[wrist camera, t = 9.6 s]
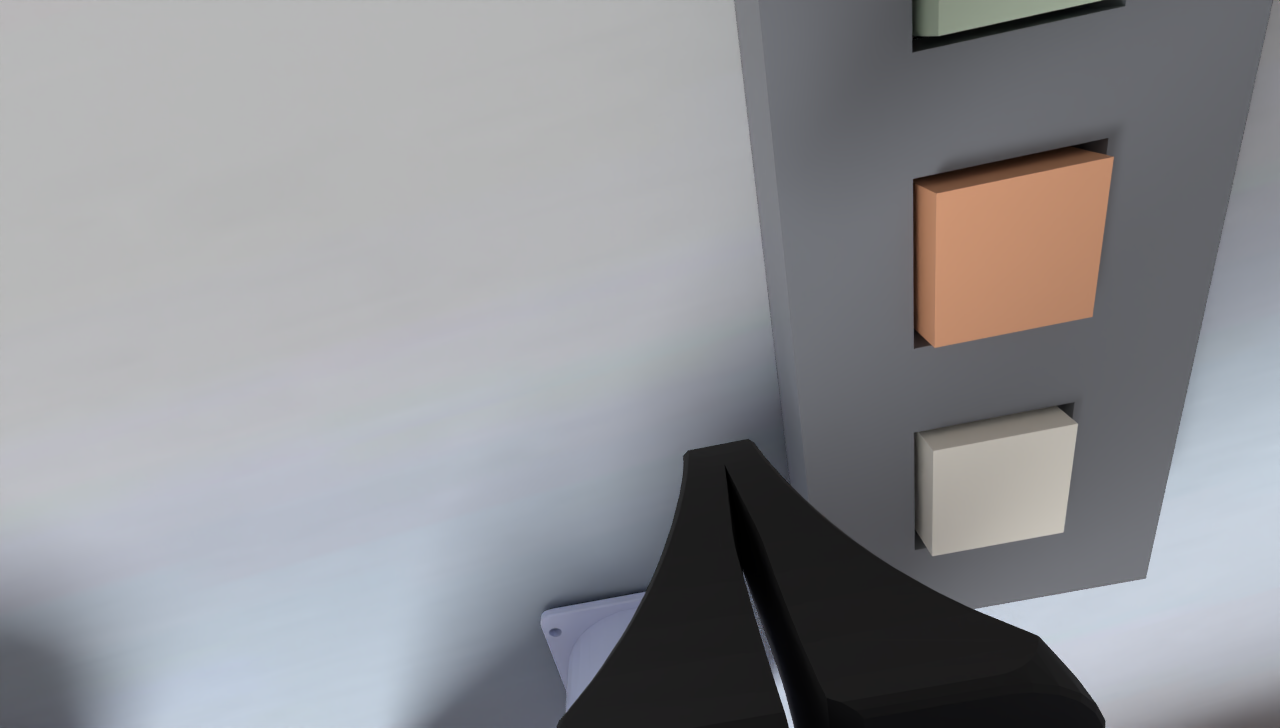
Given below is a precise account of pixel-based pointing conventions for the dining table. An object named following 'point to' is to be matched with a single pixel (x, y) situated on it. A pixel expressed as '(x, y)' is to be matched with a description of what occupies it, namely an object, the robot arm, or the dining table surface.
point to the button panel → (883, 255)
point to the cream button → (993, 480)
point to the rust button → (1008, 244)
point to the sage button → (976, 13)
